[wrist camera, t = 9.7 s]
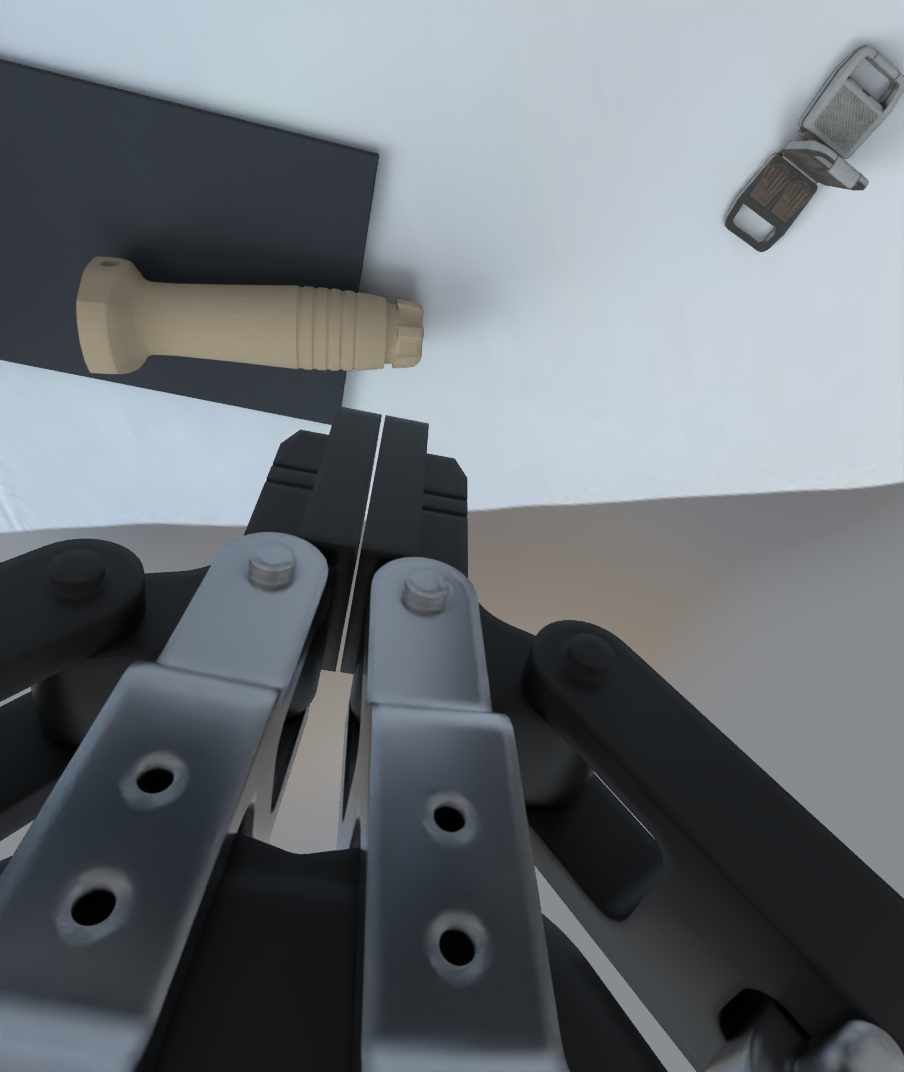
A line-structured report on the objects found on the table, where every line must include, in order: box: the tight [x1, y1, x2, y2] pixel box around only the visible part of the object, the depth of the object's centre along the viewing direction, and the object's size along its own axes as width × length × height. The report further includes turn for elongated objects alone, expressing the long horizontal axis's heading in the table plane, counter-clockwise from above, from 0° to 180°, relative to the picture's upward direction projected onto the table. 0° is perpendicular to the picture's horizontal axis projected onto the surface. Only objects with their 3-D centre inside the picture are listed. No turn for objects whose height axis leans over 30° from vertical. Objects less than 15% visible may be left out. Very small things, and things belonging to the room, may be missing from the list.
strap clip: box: [725, 45, 904, 252], centre depth 32 cm, size 8×3×4 cm, turn 149°
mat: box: [0, 59, 379, 425], centre depth 36 cm, size 20×14×1 cm
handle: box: [76, 256, 424, 374], centre depth 35 cm, size 5×6×15 cm
